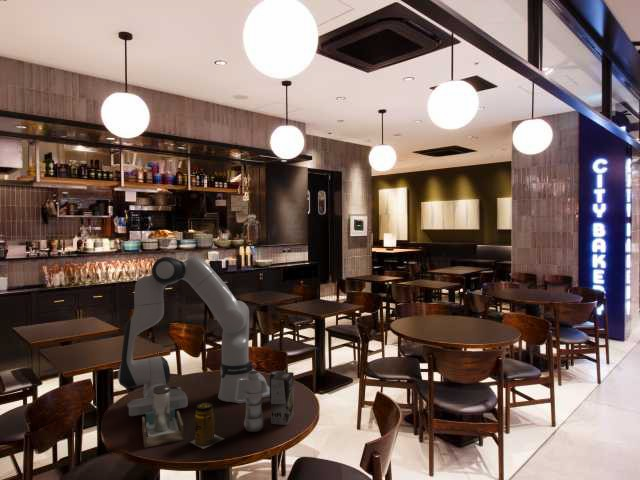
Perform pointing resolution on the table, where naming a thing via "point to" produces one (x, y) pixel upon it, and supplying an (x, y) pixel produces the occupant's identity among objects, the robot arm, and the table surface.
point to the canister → (161, 408)
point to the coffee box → (282, 398)
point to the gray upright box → (272, 377)
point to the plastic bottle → (253, 402)
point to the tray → (150, 424)
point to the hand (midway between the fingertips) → (160, 412)
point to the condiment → (205, 426)
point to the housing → (164, 437)
